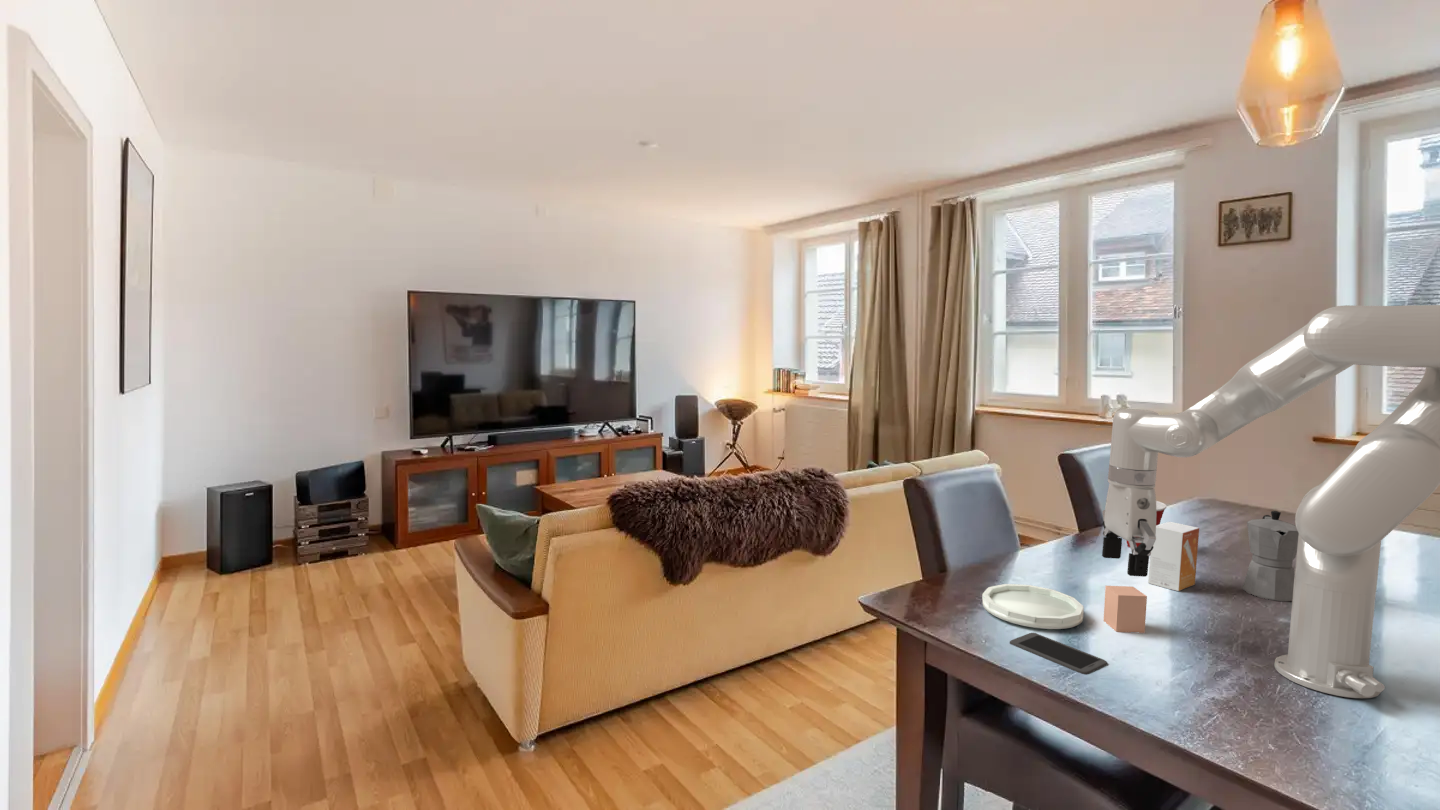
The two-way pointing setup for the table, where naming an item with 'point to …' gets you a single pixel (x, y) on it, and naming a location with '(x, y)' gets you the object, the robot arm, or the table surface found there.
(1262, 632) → the table surface
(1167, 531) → the small box
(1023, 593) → the dish
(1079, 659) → the cell phone
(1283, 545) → the coffeepot
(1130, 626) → the block
